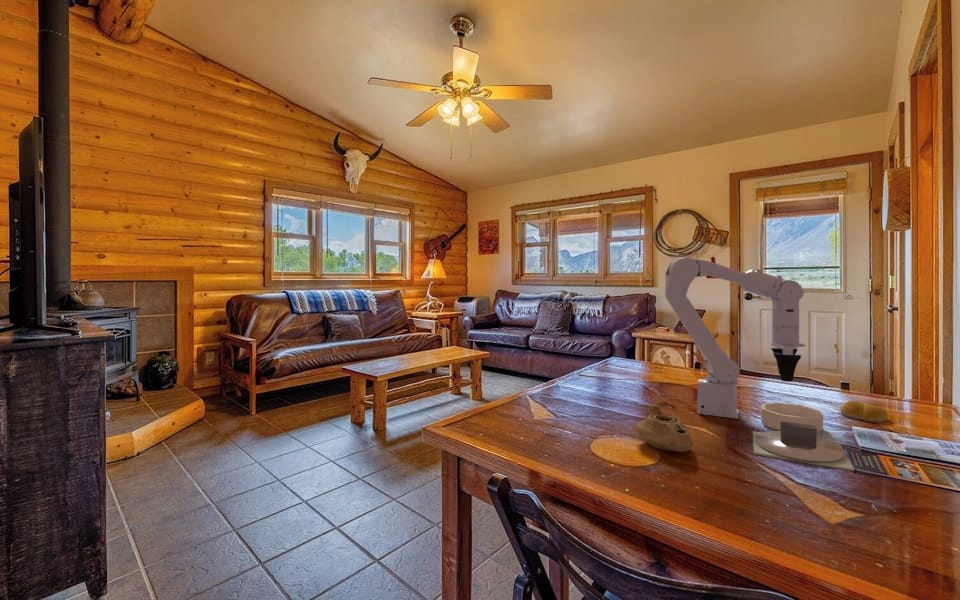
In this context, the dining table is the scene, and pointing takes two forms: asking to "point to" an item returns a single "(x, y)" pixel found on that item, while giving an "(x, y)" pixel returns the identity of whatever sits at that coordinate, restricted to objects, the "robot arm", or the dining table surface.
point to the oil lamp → (664, 431)
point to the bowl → (790, 415)
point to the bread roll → (863, 412)
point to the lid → (799, 444)
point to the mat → (841, 464)
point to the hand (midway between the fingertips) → (785, 377)
